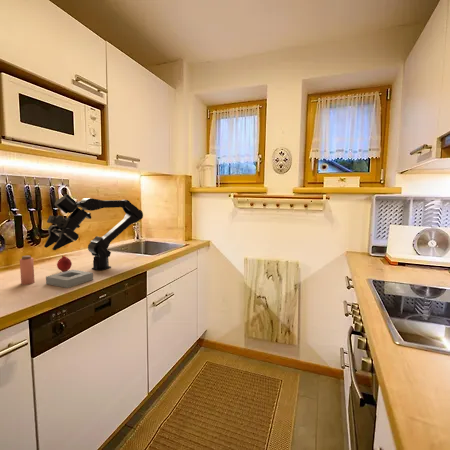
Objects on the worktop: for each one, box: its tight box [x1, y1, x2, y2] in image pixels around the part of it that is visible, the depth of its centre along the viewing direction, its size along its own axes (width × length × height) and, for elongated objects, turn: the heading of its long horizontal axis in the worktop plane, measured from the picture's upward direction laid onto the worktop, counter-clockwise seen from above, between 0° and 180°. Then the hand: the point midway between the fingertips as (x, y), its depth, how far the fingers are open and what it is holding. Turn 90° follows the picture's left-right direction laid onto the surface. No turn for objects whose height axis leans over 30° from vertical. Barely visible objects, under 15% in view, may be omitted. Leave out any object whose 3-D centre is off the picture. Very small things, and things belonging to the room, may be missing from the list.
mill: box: [19, 255, 35, 286], centre depth 109 cm, size 4×4×11 cm
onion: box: [56, 254, 73, 272], centre depth 125 cm, size 6×6×8 cm
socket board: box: [45, 269, 94, 289], centre depth 112 cm, size 12×12×3 cm
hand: (49, 248), depth 114 cm, fingers open, 9 cm apart
